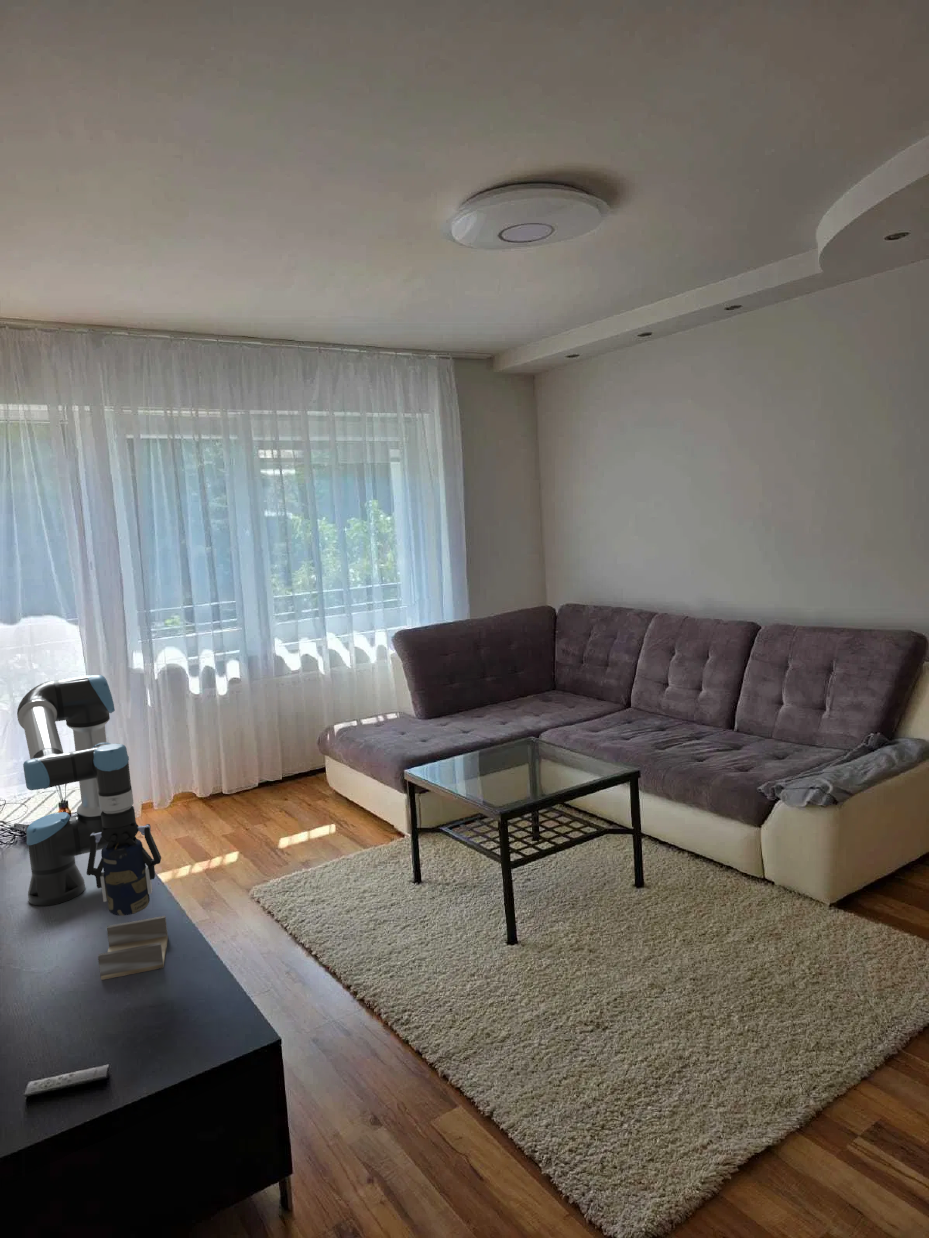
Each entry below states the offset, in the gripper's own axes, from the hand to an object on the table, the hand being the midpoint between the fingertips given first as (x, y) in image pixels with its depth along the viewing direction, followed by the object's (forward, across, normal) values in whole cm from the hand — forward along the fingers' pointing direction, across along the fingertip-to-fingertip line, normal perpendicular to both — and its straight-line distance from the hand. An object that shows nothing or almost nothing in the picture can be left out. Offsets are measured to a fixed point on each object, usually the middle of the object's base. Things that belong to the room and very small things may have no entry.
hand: (128, 895), depth 203 cm
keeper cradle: (+16, 0, 0) cm, 16 cm away
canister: (+4, 0, 0) cm, 4 cm away
